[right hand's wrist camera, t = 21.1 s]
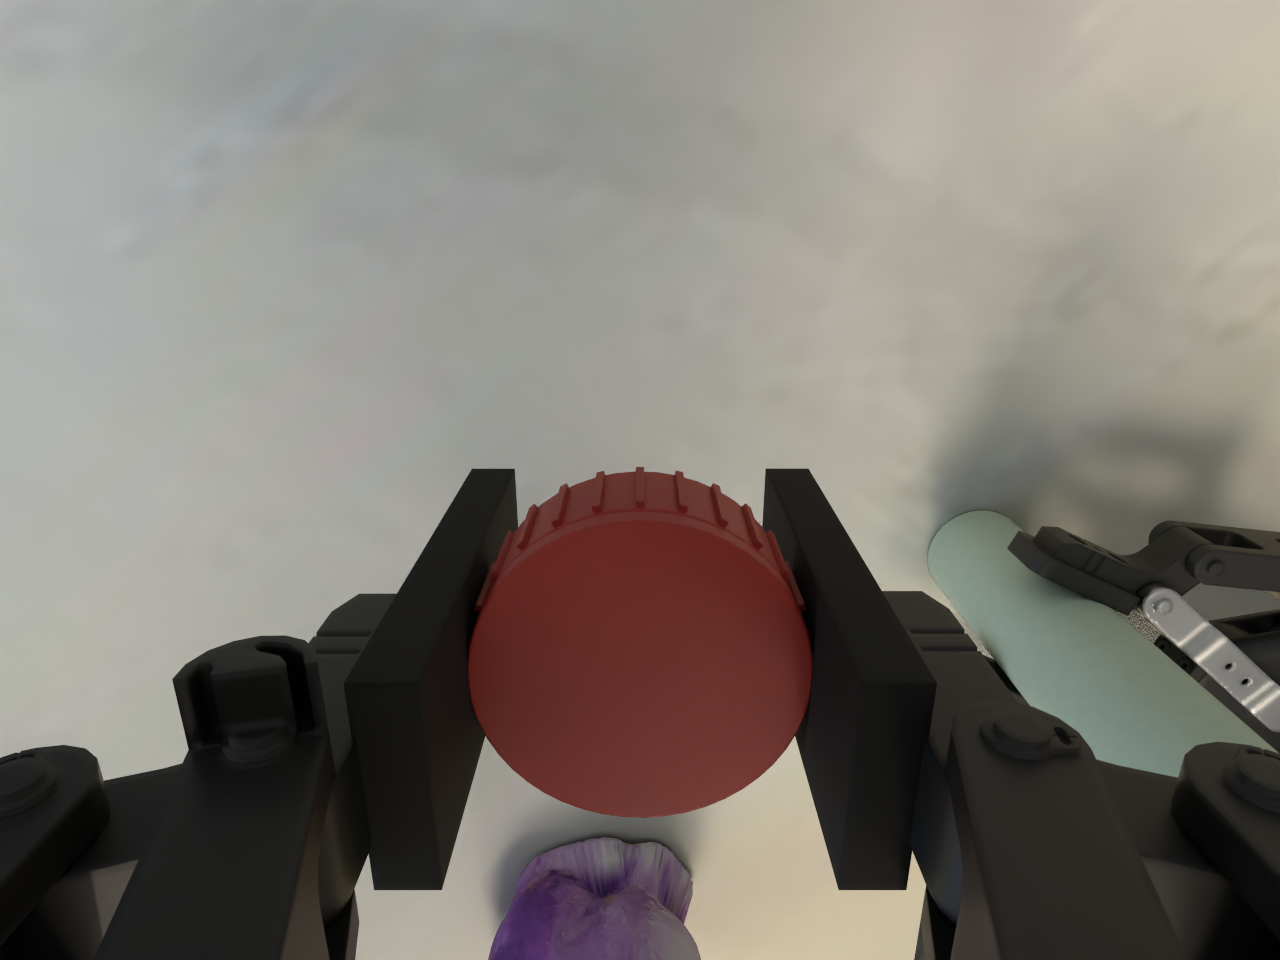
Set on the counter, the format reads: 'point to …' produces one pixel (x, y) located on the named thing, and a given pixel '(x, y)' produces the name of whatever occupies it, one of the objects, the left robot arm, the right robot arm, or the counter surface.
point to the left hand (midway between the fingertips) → (985, 608)
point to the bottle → (1077, 654)
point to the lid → (640, 646)
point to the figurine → (599, 905)
